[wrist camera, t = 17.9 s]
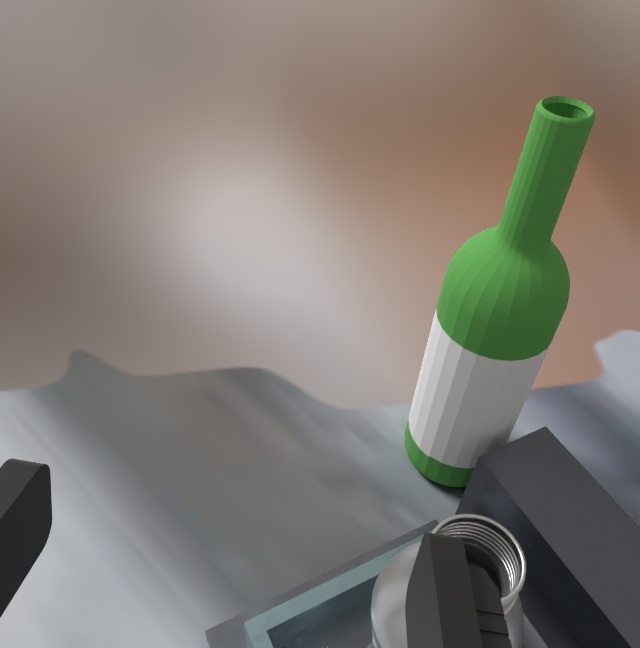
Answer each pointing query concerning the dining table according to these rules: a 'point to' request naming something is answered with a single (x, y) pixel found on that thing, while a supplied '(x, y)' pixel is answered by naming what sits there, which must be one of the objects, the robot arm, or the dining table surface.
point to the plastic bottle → (481, 551)
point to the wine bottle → (498, 308)
